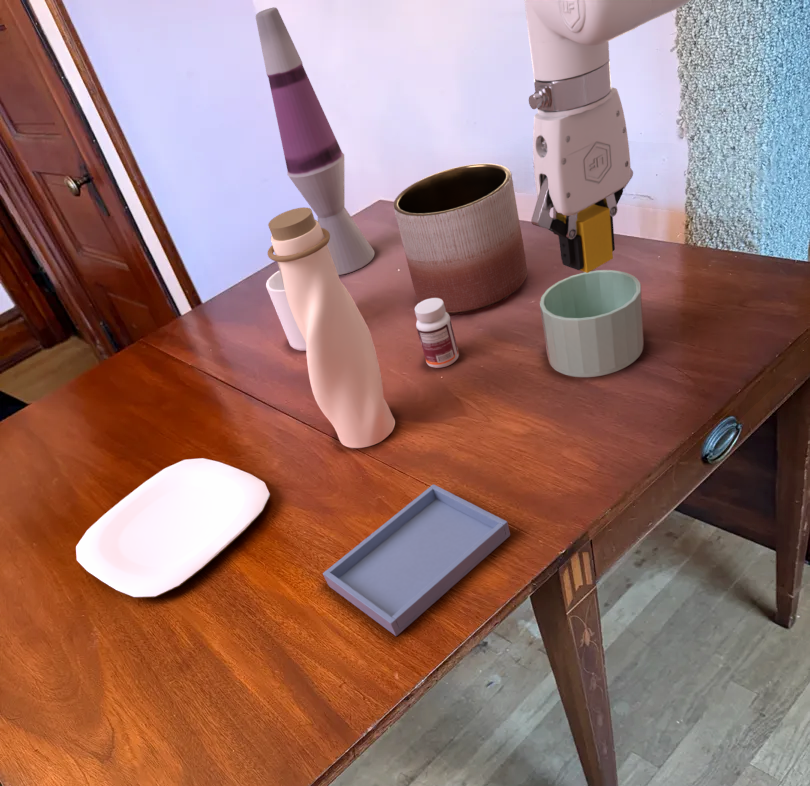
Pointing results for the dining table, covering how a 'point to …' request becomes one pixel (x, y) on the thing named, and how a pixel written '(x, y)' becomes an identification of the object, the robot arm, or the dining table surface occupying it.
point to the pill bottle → (436, 333)
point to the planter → (463, 236)
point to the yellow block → (594, 236)
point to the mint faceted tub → (593, 323)
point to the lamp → (310, 144)
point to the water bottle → (330, 331)
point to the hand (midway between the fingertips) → (588, 256)
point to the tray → (416, 557)
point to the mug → (285, 312)
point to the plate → (171, 527)
